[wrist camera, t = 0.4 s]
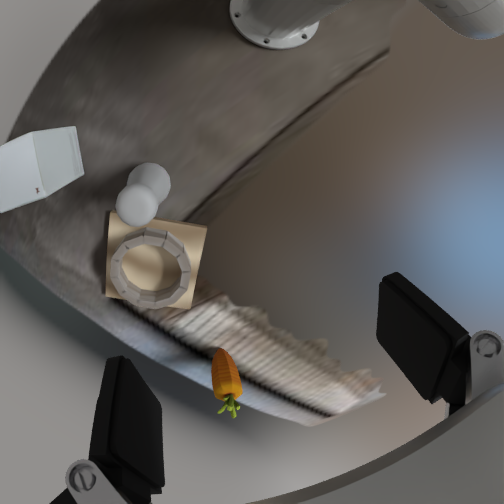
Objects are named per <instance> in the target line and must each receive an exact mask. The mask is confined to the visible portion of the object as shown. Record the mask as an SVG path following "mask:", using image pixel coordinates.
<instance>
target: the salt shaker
mask: <svg viewBox="0 0 504 504" xmlns="http://www.w3.org/2000/svg"><path fill="white" fill-rule="evenodd" d="M170 187H171V186H170V177H169V175H168V174H167V172H166V170H165V169H164V168H163V167H161V166H159V165H158V164H155V163H144V164H141V165H139V166H136V167H135V168H134V169H133V171H132V172H131V173H130V174H129V177H128V181H127V186H126V187H125V188H124V189H123V190H122V191H121V192H120V193H119V194H118V198H117V201H116V211H117V215H118V216H119V218H120V219H121V221H122V222H124V223H125V224H127V225H129V226H132V227H140V226H143V225H146V224H148V223H149V222H150V221H151V220H152V219H153V218H154V217H155V215H156V212H157V209H158V205H159V204H160V203H161V202H162V201H163V200H164V199H165V198H166V197H167V196H168V193H169V190H170Z"/></svg>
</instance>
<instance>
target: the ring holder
mask: <svg viewBox="0 0 504 504" xmlns="http://www.w3.org/2000/svg"><path fill="white" fill-rule="evenodd" d="M206 231H207V226H204V225H198V224H192V223H186V222H181V221H175V220H169V219H163V218H157V217H154V218H153V219H152V220H151V221H150V222H149V223H148V224H146V225H143V226H140V227H132V226H129V225H127V224H125V223H124V222H122V221H121V219H120V218H119V216H118V215H117V211H115V210H112V211H111V212H110V220H109V232H108V246H107V264H106V296H107V297H113V298H119V299H124V300H128V301H129V302H131V303H132V304H134V305H135V306H136V305H137V306H138V307H145V308H151V309H159V308H162V307H165V306H170V307H177V308H184V309H190V308H191V302H192V297H193V292H194V287H195V282H196V277H197V272H198V267H199V263H200V258H201V253H202V249H203V244H204V240H205V235H206Z"/></svg>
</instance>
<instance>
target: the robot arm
mask: <svg viewBox="0 0 504 504" xmlns="http://www.w3.org/2000/svg"><path fill="white" fill-rule="evenodd" d="M351 1H353V0H231V1H230V7H229V11H230V17H231V20H232V23H233V25H234V26H235V28H236V29H237V30H238V32H239V33H240V34H241V35H242V36H243V37H245V38H246V39H247V40H249V41H250V42H252V43H254V44H256V45H258V46H261V47H264V48H268V49H274V50H285V49H291V48H295V47H298V46H300V45H302V44H304V43H305V42H307V41H308V40H309V39H310V38H311V37H312V36H313V35H314V34H315V32H316V30H317V28H318V25H319V20H321V19H322V18H324V17H326V16H327V15H329V14H330V13H332V12H334V11H336V10H337V9H339V8H341V7H342V6H344V5H346V4H348V3H349V2H351ZM418 1H419V2H421V3H422V4H423V5H424V6H425V7H427V9H429V10H430V11H431V12H432V13H433V14H434V15H436V16H437V17H438V18H439V19H440V20H441V21H442V22H444V23H445V24H446V25H447V26H448V27H449V28H451V29H452V30H454V31H455V32H457V33H458V34H461V35H463V36H465V37H468V38H472V39H489V38H493V37H497V36H500V35H502V34H504V0H418ZM235 16H238V18H236V17H235ZM301 36H302V37H303V38H304V39H303V38H302V37H301ZM264 41H266V42H267V43H266V44H265V43H264ZM468 334H469V332H467V331H466V330H465V329H464V328H463V327H462V326H461V325H460V324H459V323H457V321H455V320H454V319H453V318H452V317H451V316H450V315H449V314H448V313H446V312H445V311H444V310H443V309H442V308H441V307H439V306H438V305H437V304H436V303H435V302H434V301H432V300H431V299H430V298H429V297H428V296H426V295H425V294H424V293H423V292H422V291H421V290H419V289H418V288H417V287H416V286H415V285H413V284H412V283H411V282H410V281H408V280H407V279H406V278H405V277H404V276H402V275H401V274H400V273H398V272H394V273H392V274H389V275H387V276H384V277H383V279H382V282H380V284H379V303H378V318H377V330H376V336H377V340H378V342H379V343H380V344H381V346H382V347H383V348H384V349H385V351H386V352H387V353H388V354H389V356H390V357H391V358H392V359H393V361H394V362H395V363H396V364H397V366H398V367H399V368H400V369H401V371H402V372H403V373H404V374H405V376H406V377H407V378H408V380H409V381H410V382H411V383H412V385H413V386H414V387H415V389H416V390H417V391H418V393H419V394H420V395H421V396H422V397H423V399H425V400H429V401H430V403H431V404H433V403H435V402H436V401H438V400H439V399H441V398H443V399H444V400H445V401H446V408H445V418H444V420H443V421H442V422H440V423H438V424H437V425H435V426H434V427H432V428H431V429H429V430H427V431H426V432H424V433H423V434H421V435H419V436H418V437H416V438H414V439H413V440H411V441H409V442H407V443H406V444H404V445H402V446H400V447H399V448H397V449H395V450H393V451H391V452H389V453H387V454H385V455H383V456H381V457H379V458H377V459H375V460H373V461H371V462H369V463H367V464H365V465H362V466H360V467H358V468H356V469H353V470H351V471H349V472H347V473H344V474H342V475H339V476H337V477H334V478H331V479H329V480H326V481H323V482H321V483H318V484H315V485H312V486H309V487H306V488H303V489H300V490H297V491H293V492H290V493H287V494H283V495H280V496H276V497H272V498H268V499H264V500H260V501H256V502H251V503H247V504H504V342H503V340H502V339H501V337H500V336H499V335H497V334H496V333H494V332H492V331H487V330H483V331H479V332H476V333H475V334H474V335H473V336H472V338H471V337H470V336H469V335H468ZM65 478H66V485H67V488H66V489H65V490H64V491H63V492H62V493H61V494H60V495H59V496H57V497H56V498H55V499H54V500H53V501H52V502H51V503H50V504H152V503H151V494H162V490H161V487H164V485H165V477H164V460H163V437H162V408H161V404H160V402H159V401H158V399H157V398H156V396H155V395H154V394H153V392H152V391H151V390H150V388H149V387H148V385H147V384H146V383H145V381H144V380H143V379H142V377H141V376H140V374H139V372H138V371H137V370H136V368H135V367H134V365H133V364H132V362H131V360H130V359H128V358H127V359H126V358H124V356H117V357H112V358H108V359H107V361H106V366H105V370H104V375H103V379H102V384H101V389H100V394H99V397H98V400H97V404H96V410H95V416H94V422H93V428H92V435H91V442H90V450H89V459H88V460H84V459H82V460H78V461H76V462H74V463H73V464H72V465H71V466H70V467H69V468H68V470H67V472H66V477H65Z"/></svg>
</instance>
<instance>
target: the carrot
mask: <svg viewBox="0 0 504 504" xmlns="http://www.w3.org/2000/svg"><path fill="white" fill-rule="evenodd" d="M211 373H212V385H213V390H214V394H215V397H216V398H217V399H220V400H223V401H225V403H224V405H223V407H222V408H221V409H220V410H219V411H218V413H222V412H223V411H224V410H225V408H226V406H228V407H227V410H229V411H230V412H231V416H232V418H235V417H236V412H235V408H236V409H237V410H239V409H240V406H239V404H238V403H237V402H236V401H235V399H237V398H238V397H239V396H240V395H241V394H242V385H241V381H240V377H239V374H238V370H237V367H236V365H235V363H234V361H233V359H232V357H231V356H230V355H229V354H228V352H226V351H225V350H224V349H222V348H219V349H218V350H217V352H216V353H215V355H214V358H213V361H212V370H211ZM234 406H235V408H234Z"/></svg>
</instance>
